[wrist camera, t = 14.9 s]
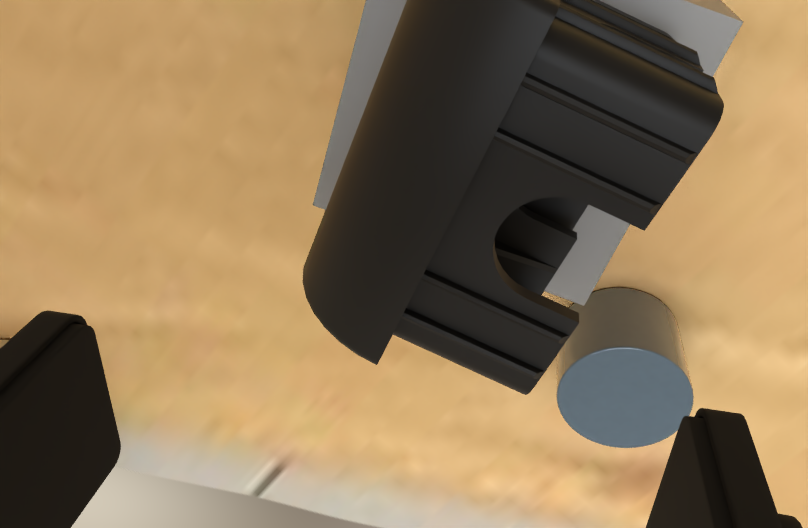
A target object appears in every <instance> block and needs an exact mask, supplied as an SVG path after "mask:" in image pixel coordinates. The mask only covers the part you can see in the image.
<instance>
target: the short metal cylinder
mask: <svg viewBox="0 0 808 528" xmlns="http://www.w3.org/2000/svg"><path fill="white" fill-rule="evenodd" d="M569 309H571V310H574V311H576V312H578V313H579V324H578V326H577V327H576V328H575V330H574V331H573V333H572V334H571V336H570V337H569V338H568V340H567V341H566V343H565V344H564V345H563V347H562V348H561V350H560V351H559V353H558V354H557V403H558V408H559V410H560V412H561V414H562V416H563V418H564V419H565V421H566V422H567V423H568V425H569V426H570V427H571V428H572V429H574V430H575V431H576V432H577V433H579V434H580V435H581V436H583V437H585V438H587V439H589V440H591V441H593V442H596V443H599V444H602V445H606V446H610V447H618V448H635V447H642V446H647V445H651V444H654V443H657V442H659V441H662V440H664V439H666V438H668V437H669V436H671V435H672V434H674V433H675V432H676V431H677V430H678V429H679V426H680V423H681V421H682V418H683V417H684V416H689V415H690V412H691V410H692V406H693V398H694V396H693V389H692V384H691V380H690V376H689V371H688V367H687V363H686V359H685V354H684V350H683V346H682V341H681V337H680V333H679V328H678V325H677V321H676V319H675V317H674V315H673V314H672V312H671V311H670V310H669V308H668V307H667V306H666V305H665V304H663V303H662V302H661V301H660V300H658V299H657V298H655V297H653V296H652V295H650V294H647V293H645V292H642V291H639V290H635V289H630V288H608V289H603V290H598V291H595V292H592V293H591V294H590V296H589V298H588V300H587V302H586V303H585V305H584V306H583V305H580V304H578V303H574V304H573V305H571V307H570V308H569Z"/></svg>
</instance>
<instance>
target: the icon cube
mask: <svg viewBox="0 0 808 528" xmlns="http://www.w3.org/2000/svg"><path fill="white" fill-rule="evenodd" d="M406 1H407V0H366V2H365V6H364V10H363V14H362V18H361V21H360V25H359V29H358V33H357V37H356V41H355V45H354V48H353V52H352V56H351V60H350V64H349V68H348V71H347V75H346V79H345V83H344V87H343V91H342V95H341V98H340V102H339V106H338V110H337V114H336V118H335V121H334V125H333V129H332V133H331V137H330V141H329V145H328V148H327V152H326V156H325V160H324V164H323V168H322V171H321V175H320V179H319V183H318V187H317V191H316V195H315V198H314V202H313V205H314V206H316V207H319V208H322V209H325V210H326V208H327V205H328V203H329V200H330V198H331V195H332V192H333V190H334V187H335V185H336V182H337V180H338V177H339V174H340V172H341V169H342V167H343V164H344V161H345V159H346V156H347V154H348V151H349V148H350V146H351V143H352V141H353V138H354V136H355V133H356V130H357V128H358V125H359V123H360V120H361V117H362V115H363V112H364V110H365V107H366V105H367V102H368V99H369V97H370V94H371V92H372V89H373V86H374V84H375V81H376V79H377V76H378V73H379V71H380V68H381V66H382V63H383V61H384V58H385V55H386V53H387V50H388V48H389V45H390V42H391V40H392V37H393V35H394V32H395V29H396V27H397V24H398V22H399V19H400V17H401V14H402V11H403V9H404V6H405V4H406ZM600 1H602V2H604V3H606V4H608V5H610V6H612V7H614V8H616V9H618V10H620V11H623V12H625V13H627V14H629V15H631V16H633V17H635V18H637V19H639V20H641V21H643V22H645V23H648V24H650V25H652V26H654V27H656V28H658V29H660V30H662V31H664V32H666V33H668V34H669V35H670V36H671V37H672V38H673V39H674V40H675V41H676V42H678V43H680V44H682V45H685V46H687V47H689V48H691V49H693V50H695V51H697V53H698V56H699V60H700V65H701V67H702V68H703V70H704V71H703V73H705V74H708V75H710V76H712V77H713V75H714V73H715V71H716V70H717V68H718V66H719V64H720V63H721V61H722V59H723V57H724V55H725V54H726V52H727V50H728V48H729V46H730V45H731V43H732V41H733V39H734V38H735V36H736V34H737V32H738V30H739V29H740V27H741V25H742V23H743V21H742V20H741V19H740V18H739V17H738V16H737V15H736V14H735V13H734V12H733V11H731V10H730V9H729V8H728V7H727V6H726V5H725V4H724V3H723V2H722V1H721V0H600ZM629 225H630V224H629V223H627V222H625V221H623V220H621V219H618V218H616V217H614V216H612V215H610V214H608V213H606V212H604V211H601V210H599V209H597V208H595V207H593V206H591V205H588V206H587V208H586V209H585V211H584V213H583V214H582V216H581V217H580V219H579V221H578V222H577V224H576V225H575V227H574V228H573V231H575V232H577V241H576V242H575V244H574V245H573V247H572V248H571V250H570V251H569V253H568V255H567V256H566V258H565V259H564V261H563V262H562V264H561V265H560V267H559V268H558V270H557V272H556V273H555V275H554V276H553V278H552V279H551V281H550V282H549V284H548V286H547V287H546V289H545V290H544V291H545V292H548V293H551V294H553V295H556V296H559V297H562V298H564V299H567V300H570V301H572V302H575V303H578V304H580V305H583V306H584V305H585V303H586V302H587V300H588V298H589V296H590V294H591V293H592V291H593V289H594V287H595V286H596V284H597V282H598V280H599V278H600V277H601V275H602V273H603V271H604V270H605V268H606V266H607V264H608V262H609V261H610V259H611V257H612V255H613V253H614V252H615V250H616V248H617V246H618V245H619V243H620V241H621V239H622V237H623V236H624V234H625V232H626V230H627V228H628V227H629Z"/></svg>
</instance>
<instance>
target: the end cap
mask: <svg viewBox="0 0 808 528" xmlns="http://www.w3.org/2000/svg"><path fill="white" fill-rule="evenodd" d="M703 71H704V70H703V68H702V67H701V65H700V60H699V56H698V53H697V51H695V50H693V49H691V48H689V47H687V46H685V45H682V44H680V43H678V42H676V41H675V40H674V39H673V38H672V37H671V36H670V35H669V34H668V33H666V32H664V31H662V30H660V29H658V28H656V27H654V26H652V25H650V24H648V23H645V22H643V21H641V20H639V19H637V18H635V17H633V16H631V15H629V14H627V13H625V12H623V11H620V10H618V9H616V8H614V7H612V6H610V5H608V4H606V3H604V2H602V1H600V0H407V1H406V4H405V6H404V9H403V11H402V14H401V17H400V19H399V22H398V24H397V27H396V29H395V32H394V35H393V37H392V40H391V42H390V45H389V48H388V50H387V53H386V55H385V58H384V61H383V63H382V66H381V68H380V71H379V73H378V76H377V79H376V81H375V84H374V86H373V89H372V92H371V94H370V97H369V99H368V102H367V105H366V107H365V110H364V112H363V115H362V117H361V120H360V123H359V125H358V128H357V130H356V133H355V136H354V138H353V141H352V143H351V146H350V148H349V151H348V154H347V156H346V159H345V161H344V164H343V167H342V169H341V172H340V174H339V177H338V180H337V182H336V185H335V187H334V190H333V192H332V195H331V198H330V200H329V203H328V205H327V208H326V211H325V213H324V216H323V218H322V221H321V224H320V226H319V229H318V231H317V234H316V236H315V239H314V242H313V244H312V247H311V249H310V252H309V255H308V257H307V260H306V262H305V265H304V269H303V285H304V290H305V294H306V298H307V300H308V302H309V304H310V306H311V308H312V310H313V312H314V314H315V315H316V316H317V318H318V319H319V320H320V322H321V323H322V324H323V326H324V327H325V328H326V329H327V330H328V331H329V332H330V333H331V334H332V335H333V336H334V337H335V338H336V339H337V340H338V341H339V342H341V343H342V344H343V345H345V346H346V347H347V348H349V349H350V350H352V351H353V352H354V353H356V354H357V355H359V356H361V357H363V358H365V359H367V360H368V361H370V362H372V363H374V364H376V365H377V364H378V362H379V360H380V358H381V356H382V354H383V352H384V350H385V348H386V346H387V344H388V342H389V341H390V339H391V337H392V335H395V336H397V337H400V338H402V339H404V340H406V341H408V342H411V343H413V344H415V345H417V346H419V347H422V348H424V349H426V350H428V351H430V352H433V353H435V354H437V355H439V356H441V357H443V358H446V359H448V360H450V361H452V362H454V363H457V364H459V365H461V366H463V367H465V368H468V369H470V370H472V371H474V372H476V373H479V374H481V375H483V376H485V377H487V378H490V379H492V380H494V381H496V382H498V383H500V384H503V385H505V386H507V387H509V388H511V389H514V390H516V391H518V392H520V393H522V394H525V395H527V394H528V393H530V392H531V390H532V389H533V388H534V387H535V385H536V384H537V382H538V381H539V379H540V378H541V377H542V375H543V374H544V372H545V371H546V370H547V368H548V367H549V365H550V364H551V362H552V361H553V360H554V358H555V357H556V355H557V354H558V353H559V351H560V350H561V348H562V347H563V345H564V344H565V343H566V341H567V340H568V338H569V337H570V336H571V334H572V333H573V331H574V330H575V328H576V327H577V326H578V324H579V313H578V312H576V311H574V310H571V309H569V308H567V307H565V306H563V305H561V304H558V303H556V302H554V301H552V300H550V299H548V298H545V297H543V296H541V295H542V293H543V292H544V290H545V289H546V287H547V286H548V284H549V282H550V281H551V279H552V278H553V276H554V275H555V273H556V272H557V270H558V268H559V267H560V265H561V264H562V262H563V261H564V259H565V258H566V256H567V255H568V253H569V251H570V250H571V248H572V247H573V245H574V244H575V242H576V241H577V232H575V231H573V228H574V227H575V225H576V224H577V222H578V221H579V219H580V217H581V216H582V214H583V213H584V211H585V209H586V208H587V206H588V205H591V206H593V207H595V208H597V209H599V210H601V211H604V212H606V213H608V214H610V215H612V216H614V217H616V218H618V219H621V220H623V221H625V222H627V223H629V224H631V225H633V226H636V227H638V228H640V229H642V230H644V231H645V229H646V228H647V226H648V225H649V224H650V222H651V221H652V219H653V218H654V217H655V215H656V214H657V212H658V211H659V209H660V208H661V207H662V205H663V204H664V202H665V201H666V200H667V198H668V197H669V195H670V194H671V192H672V191H673V190H674V188H675V187H676V185H677V184H678V183H679V181H680V180H681V178H682V177H683V175H684V174H685V173H686V171H687V170H688V168H689V167H690V166H691V164H692V163H693V161H694V160H695V158H696V157H697V156H698V154H699V153H700V151H701V150H702V149H703V147H704V146H705V144H706V143H707V141H708V140H709V139H710V137H711V135H712V134H713V132H714V131H715V129H716V127H717V125H718V123H719V121H720V118H721V116H722V113H723V108H724V104H723V100H722V99H721V97H720V96H719V94H718V92H717V87H716V83H715V80H714V77H712V76H710V75H708V74H705V73H703Z"/></svg>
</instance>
